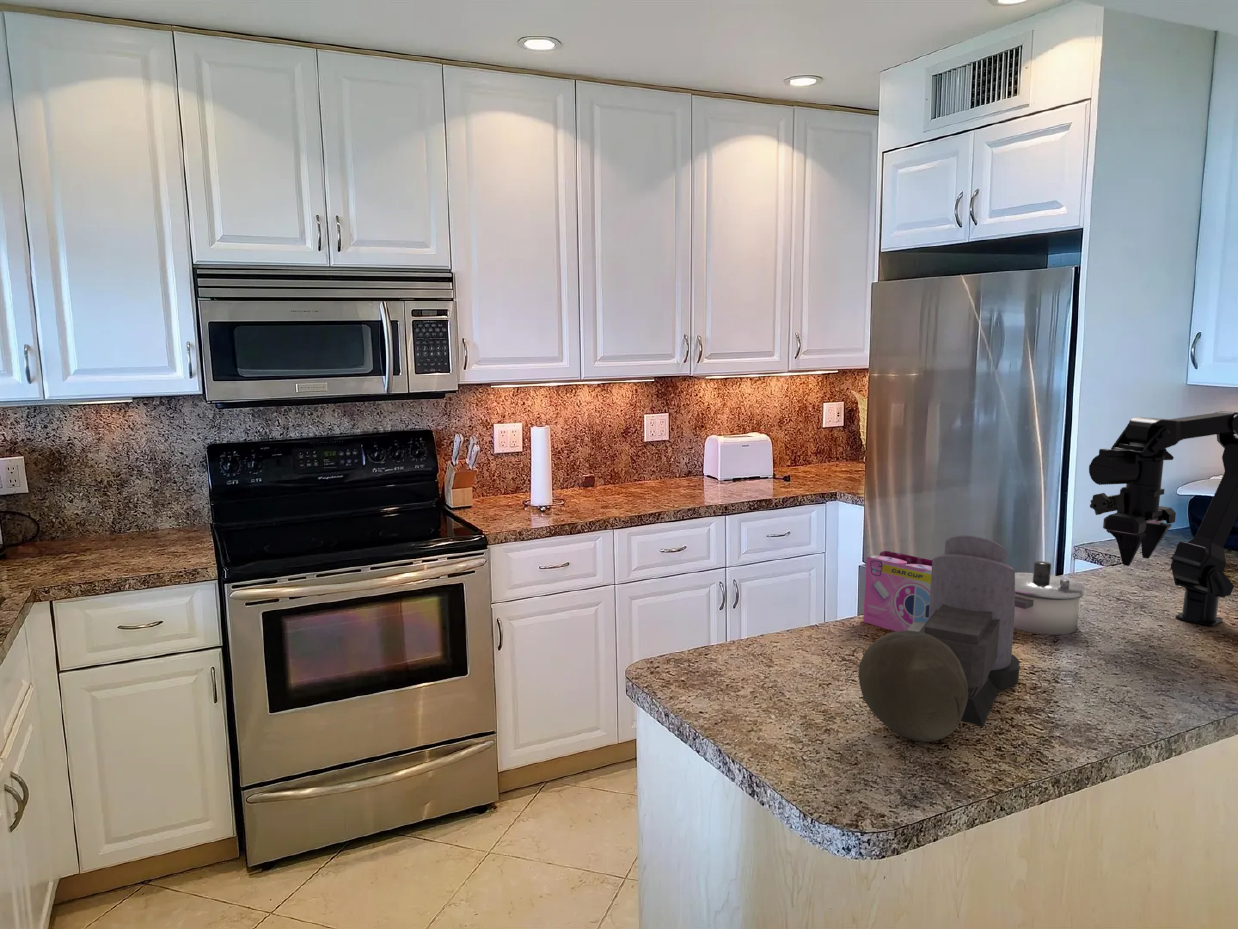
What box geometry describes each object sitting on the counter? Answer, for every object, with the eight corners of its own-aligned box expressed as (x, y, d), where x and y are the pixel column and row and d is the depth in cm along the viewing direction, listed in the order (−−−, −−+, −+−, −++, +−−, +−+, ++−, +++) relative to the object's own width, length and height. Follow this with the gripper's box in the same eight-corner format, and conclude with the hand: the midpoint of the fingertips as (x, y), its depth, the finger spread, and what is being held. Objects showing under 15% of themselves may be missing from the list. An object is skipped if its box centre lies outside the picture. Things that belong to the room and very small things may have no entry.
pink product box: (855, 621, 169) (858, 555, 167) (876, 612, 174) (879, 548, 172) (973, 654, 152) (978, 580, 150) (992, 643, 157) (997, 572, 155)
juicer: (929, 646, 155) (937, 515, 152) (1025, 664, 147) (1036, 526, 143) (886, 705, 130) (895, 549, 127) (999, 730, 122) (1011, 565, 118)
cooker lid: (1022, 574, 178) (1024, 550, 177) (1097, 591, 166) (1100, 565, 165) (984, 586, 169) (986, 560, 168) (1060, 604, 157) (1063, 577, 156)
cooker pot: (1026, 604, 180) (1029, 572, 179) (1095, 622, 169) (1099, 588, 168) (978, 623, 168) (980, 588, 167) (1049, 643, 157) (1052, 606, 156)
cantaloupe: (938, 714, 127) (944, 618, 124) (981, 761, 113) (989, 653, 110) (845, 715, 126) (849, 618, 124) (876, 762, 112) (882, 653, 110)
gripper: (1119, 473, 175) (1112, 547, 177) (1078, 482, 164) (1071, 560, 166) (1180, 480, 166) (1172, 557, 169) (1141, 490, 155) (1133, 573, 157)
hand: (1136, 561), depth 165 cm, fingers open, 9 cm apart
